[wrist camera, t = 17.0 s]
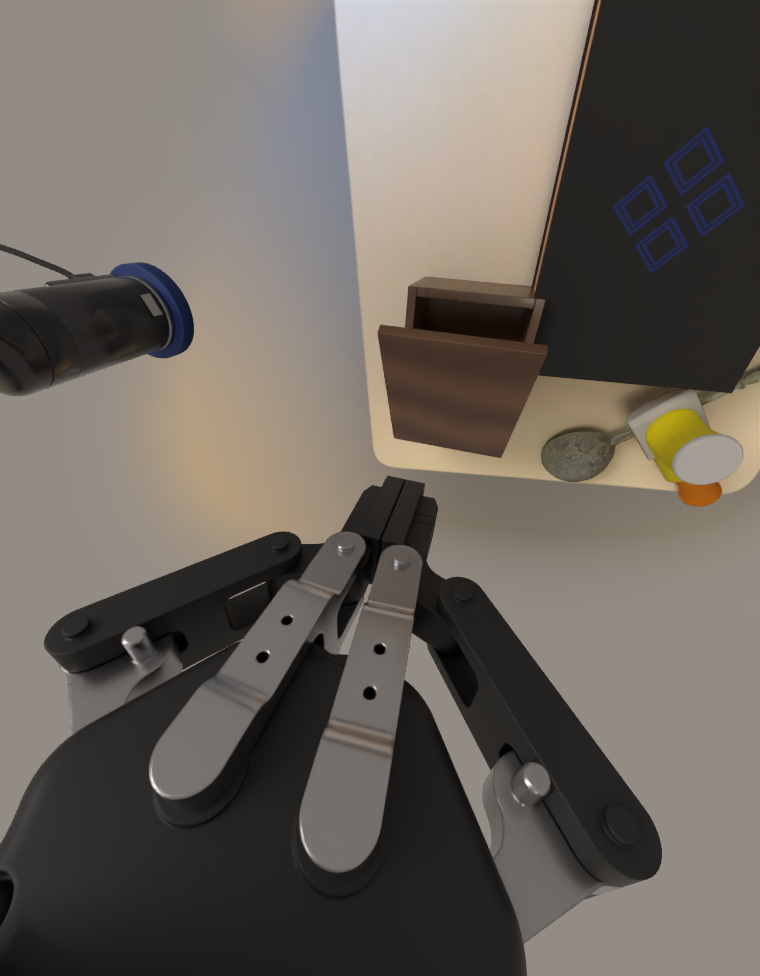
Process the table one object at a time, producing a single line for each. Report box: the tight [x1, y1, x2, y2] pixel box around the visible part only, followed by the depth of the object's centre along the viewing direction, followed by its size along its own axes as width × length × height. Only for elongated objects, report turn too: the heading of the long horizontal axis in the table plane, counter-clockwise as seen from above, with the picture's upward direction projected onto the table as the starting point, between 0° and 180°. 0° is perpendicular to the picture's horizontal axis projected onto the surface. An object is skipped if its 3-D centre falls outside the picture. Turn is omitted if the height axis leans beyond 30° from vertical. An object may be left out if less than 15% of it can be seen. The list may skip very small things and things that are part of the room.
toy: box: [626, 389, 743, 506], centre depth 35 cm, size 5×15×10 cm, turn 43°
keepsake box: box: [405, 277, 546, 344], centre depth 38 cm, size 15×12×8 cm
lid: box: [378, 325, 548, 458], centre depth 32 cm, size 15×12×1 cm
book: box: [530, 0, 760, 393], centre depth 28 cm, size 17×25×7 cm
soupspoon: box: [541, 370, 760, 482], centre depth 39 cm, size 22×3×7 cm
